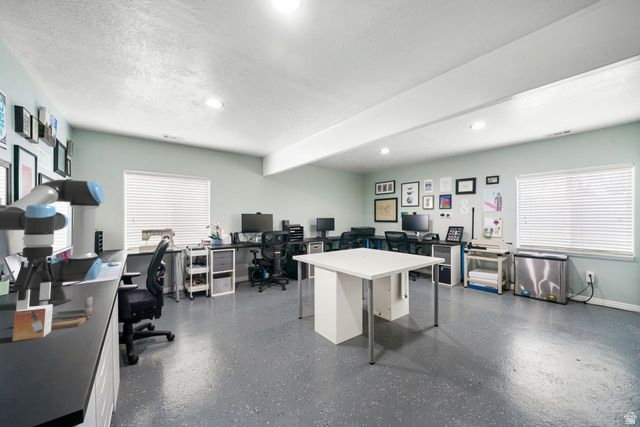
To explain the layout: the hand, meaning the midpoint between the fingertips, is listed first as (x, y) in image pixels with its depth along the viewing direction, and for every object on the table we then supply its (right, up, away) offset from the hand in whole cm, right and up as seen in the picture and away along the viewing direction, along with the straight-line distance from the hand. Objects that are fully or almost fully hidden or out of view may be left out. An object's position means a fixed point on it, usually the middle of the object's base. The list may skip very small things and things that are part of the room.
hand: (34, 304), depth 92 cm
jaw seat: (-3, -12, +14) cm, 19 cm away
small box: (0, -12, 0) cm, 12 cm away
